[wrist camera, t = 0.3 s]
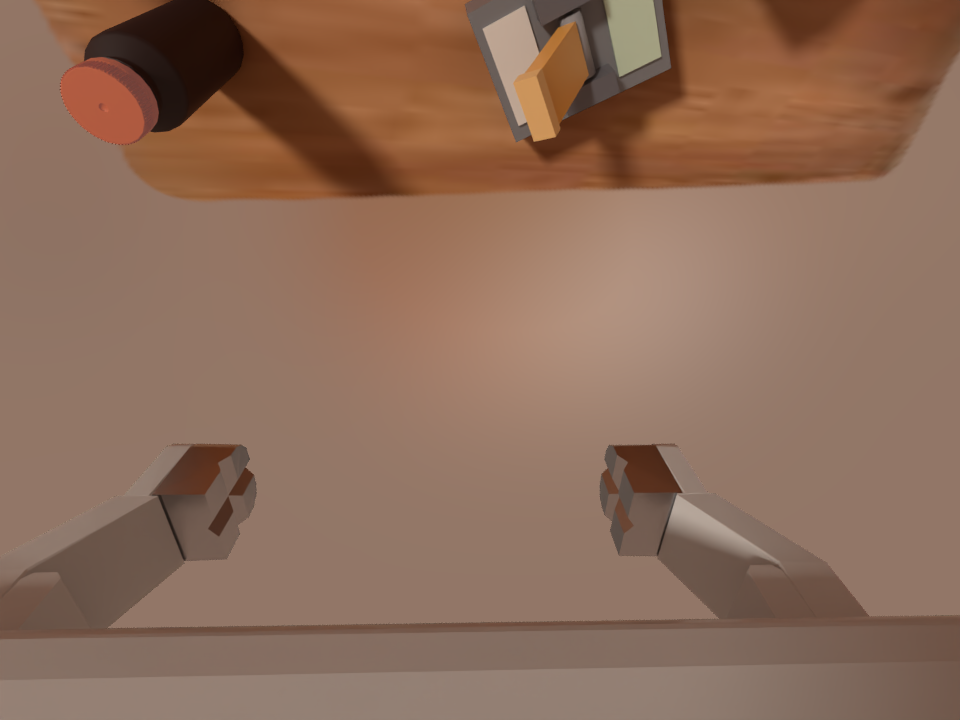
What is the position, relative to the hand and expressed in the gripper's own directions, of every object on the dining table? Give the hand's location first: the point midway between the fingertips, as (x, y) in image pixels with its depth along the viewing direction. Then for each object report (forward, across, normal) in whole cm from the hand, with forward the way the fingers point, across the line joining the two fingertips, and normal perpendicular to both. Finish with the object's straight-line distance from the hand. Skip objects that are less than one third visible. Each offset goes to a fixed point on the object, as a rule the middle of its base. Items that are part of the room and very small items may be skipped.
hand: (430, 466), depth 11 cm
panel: (+48, -11, -14) cm, 51 cm away
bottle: (+47, +24, -12) cm, 54 cm away
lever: (+42, -11, -12) cm, 45 cm away
